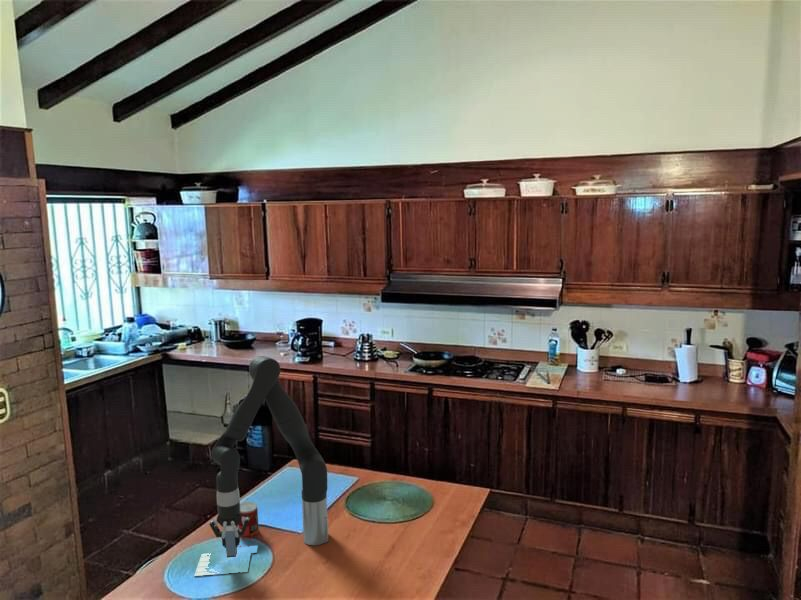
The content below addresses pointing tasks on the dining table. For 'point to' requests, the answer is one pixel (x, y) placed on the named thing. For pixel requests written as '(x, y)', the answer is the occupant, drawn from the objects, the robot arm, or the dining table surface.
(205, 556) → the notepad
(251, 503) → the canned food
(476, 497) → the dining table surface
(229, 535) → the grey rectangular block
